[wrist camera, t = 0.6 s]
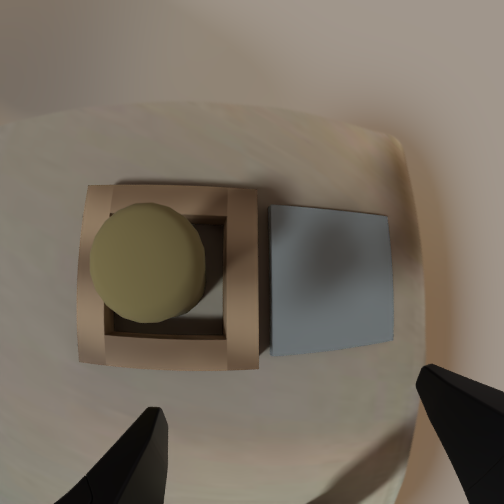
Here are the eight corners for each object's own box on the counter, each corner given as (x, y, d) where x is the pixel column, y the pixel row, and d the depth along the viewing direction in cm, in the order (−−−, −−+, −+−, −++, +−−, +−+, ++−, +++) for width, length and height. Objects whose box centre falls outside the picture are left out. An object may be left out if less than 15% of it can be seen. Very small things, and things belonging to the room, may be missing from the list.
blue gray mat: (388, 339, 23) (393, 340, 22) (270, 354, 21) (272, 356, 20) (382, 218, 25) (387, 216, 24) (268, 207, 23) (270, 204, 22)
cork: (114, 280, 19) (44, 261, 9) (165, 223, 21) (142, 154, 10) (171, 333, 20) (148, 370, 9) (222, 275, 21) (251, 250, 11)
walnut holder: (251, 361, 20) (258, 368, 18) (90, 355, 18) (79, 361, 15) (250, 200, 23) (257, 189, 20) (97, 196, 20) (88, 185, 18)
